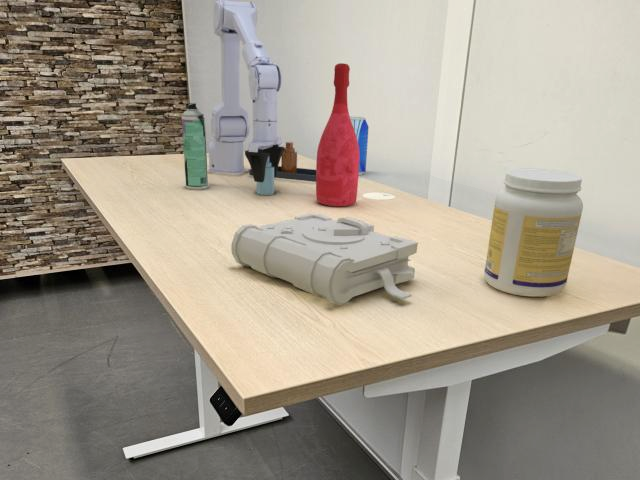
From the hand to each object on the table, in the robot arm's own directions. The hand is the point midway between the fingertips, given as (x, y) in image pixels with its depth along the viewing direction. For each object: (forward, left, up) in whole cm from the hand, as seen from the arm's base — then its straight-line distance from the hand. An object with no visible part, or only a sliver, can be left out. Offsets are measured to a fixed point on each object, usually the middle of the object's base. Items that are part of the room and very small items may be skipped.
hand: (265, 179), depth 141 cm
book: (+34, -51, -4) cm, 61 cm away
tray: (-2, +22, -3) cm, 22 cm away
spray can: (-18, -2, -4) cm, 18 cm away
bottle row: (-6, +22, -3) cm, 23 cm away
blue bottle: (0, 0, -3) cm, 3 cm away
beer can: (+12, +35, -4) cm, 37 cm away
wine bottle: (+19, -2, -4) cm, 19 cm away
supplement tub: (+62, -42, -4) cm, 75 cm away
